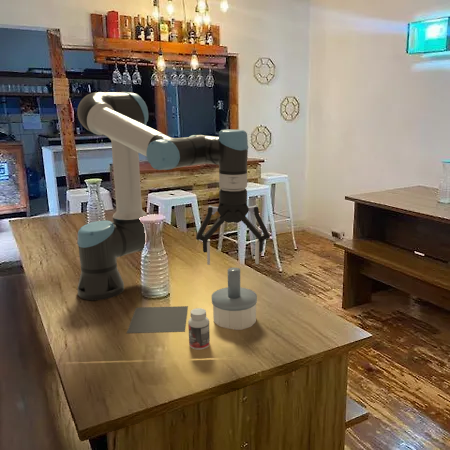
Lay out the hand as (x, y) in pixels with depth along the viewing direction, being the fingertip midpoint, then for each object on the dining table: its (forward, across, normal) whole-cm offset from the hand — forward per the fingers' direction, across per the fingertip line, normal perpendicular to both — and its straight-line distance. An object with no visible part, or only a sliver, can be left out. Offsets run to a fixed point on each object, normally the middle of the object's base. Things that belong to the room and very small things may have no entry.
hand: (232, 262), depth 127 cm
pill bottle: (+18, -9, -14) cm, 25 cm away
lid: (+11, 0, 0) cm, 11 cm away
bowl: (+17, 0, 0) cm, 17 cm away
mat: (+18, -22, 0) cm, 28 cm away
